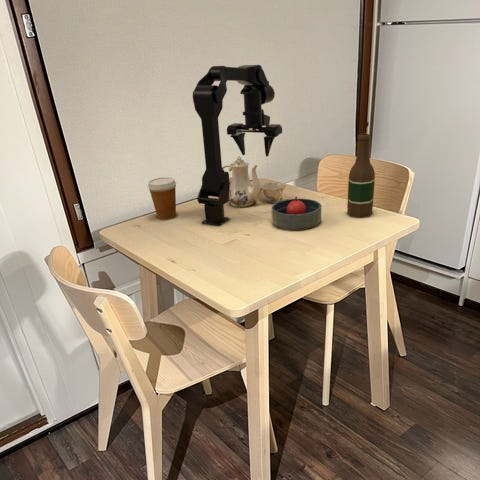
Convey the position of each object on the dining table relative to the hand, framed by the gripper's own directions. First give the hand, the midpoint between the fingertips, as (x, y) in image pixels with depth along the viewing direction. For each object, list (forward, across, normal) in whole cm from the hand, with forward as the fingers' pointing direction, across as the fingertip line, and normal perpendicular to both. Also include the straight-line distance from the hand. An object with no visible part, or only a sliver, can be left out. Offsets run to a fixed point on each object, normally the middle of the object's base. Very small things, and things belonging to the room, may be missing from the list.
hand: (255, 155), depth 170 cm
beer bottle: (+15, -40, +6) cm, 43 cm away
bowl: (+14, -24, +19) cm, 34 cm away
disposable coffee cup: (+15, +20, +28) cm, 38 cm away
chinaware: (+15, +1, +6) cm, 16 cm away
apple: (+14, -24, +19) cm, 34 cm away
